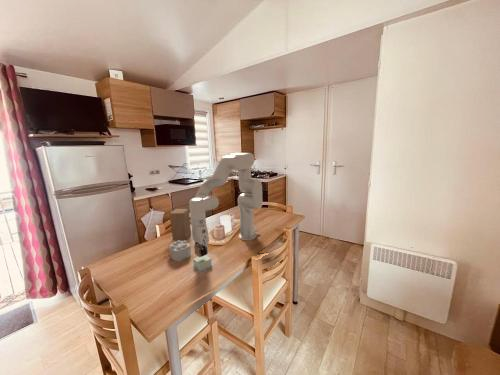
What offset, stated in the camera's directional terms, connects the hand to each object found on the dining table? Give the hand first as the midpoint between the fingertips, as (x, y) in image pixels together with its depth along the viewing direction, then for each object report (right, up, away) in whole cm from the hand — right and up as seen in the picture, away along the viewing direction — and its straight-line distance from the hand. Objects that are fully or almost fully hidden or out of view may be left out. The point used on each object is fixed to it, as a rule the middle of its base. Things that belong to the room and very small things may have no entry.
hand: (201, 253), depth 109 cm
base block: (0, -7, +2) cm, 8 cm away
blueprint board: (+1, -7, +4) cm, 8 cm away
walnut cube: (0, 0, 0) cm, 1 cm away
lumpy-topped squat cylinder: (-16, -6, +14) cm, 22 cm away
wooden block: (-23, -1, +39) cm, 46 cm away
